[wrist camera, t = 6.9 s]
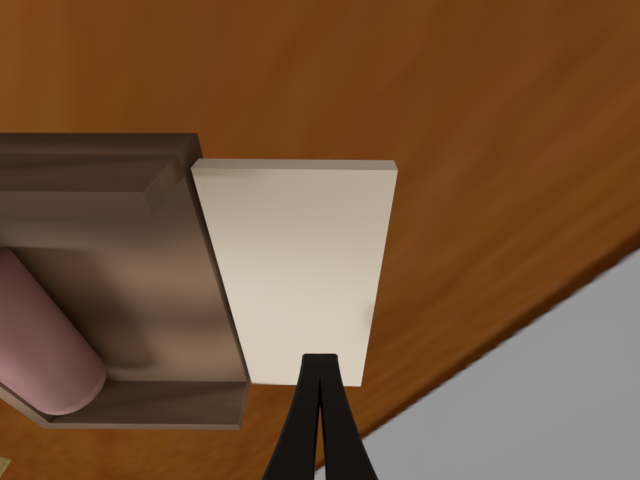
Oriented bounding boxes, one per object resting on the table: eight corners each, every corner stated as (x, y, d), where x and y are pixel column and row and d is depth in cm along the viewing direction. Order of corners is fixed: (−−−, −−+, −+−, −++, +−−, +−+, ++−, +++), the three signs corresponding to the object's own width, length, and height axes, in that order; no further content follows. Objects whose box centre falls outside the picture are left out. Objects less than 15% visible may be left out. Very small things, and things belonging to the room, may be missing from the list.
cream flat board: (190, 168, 10) (397, 170, 10) (198, 158, 11) (393, 160, 11) (252, 384, 20) (360, 386, 20) (254, 371, 20) (359, 374, 20)
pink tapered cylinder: (-43, 246, 13) (-135, 308, 10) (34, 246, 13) (-38, 308, 10) (73, 367, 19) (35, 425, 16) (126, 367, 19) (95, 425, 16)
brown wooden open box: (-108, 132, 12) (-295, 190, 8) (197, 132, 12) (142, 192, 8) (89, 358, 22) (43, 428, 18) (254, 359, 22) (240, 430, 18)
